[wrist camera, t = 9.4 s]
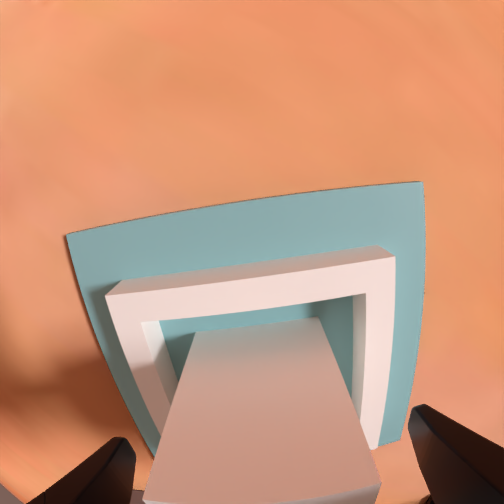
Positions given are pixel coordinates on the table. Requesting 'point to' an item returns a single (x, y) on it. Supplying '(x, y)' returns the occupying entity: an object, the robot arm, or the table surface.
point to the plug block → (262, 423)
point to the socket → (263, 291)
